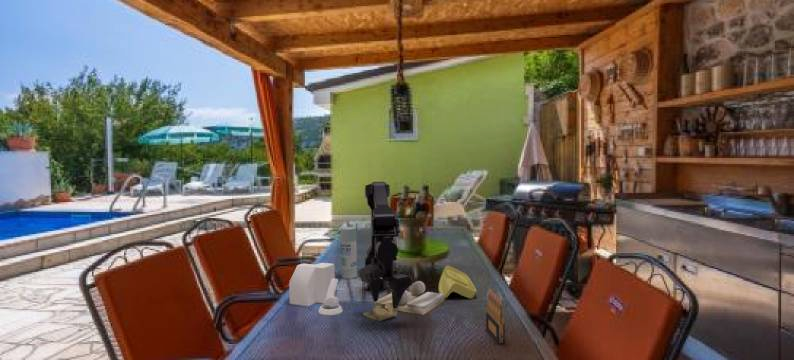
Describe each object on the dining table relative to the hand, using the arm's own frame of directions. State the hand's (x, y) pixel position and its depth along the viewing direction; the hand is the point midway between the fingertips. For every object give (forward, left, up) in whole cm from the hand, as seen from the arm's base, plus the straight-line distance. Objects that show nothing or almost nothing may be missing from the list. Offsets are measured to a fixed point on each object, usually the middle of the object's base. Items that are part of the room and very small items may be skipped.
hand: (385, 304), depth 150 cm
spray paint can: (-38, +36, -4) cm, 52 cm away
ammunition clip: (+34, +1, -4) cm, 34 cm away
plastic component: (+9, +36, -5) cm, 37 cm away
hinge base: (0, +16, -4) cm, 16 cm away
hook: (-19, -2, -4) cm, 20 cm away
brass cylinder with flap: (-2, +1, -4) cm, 5 cm away
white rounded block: (-31, +4, -4) cm, 31 cm away
